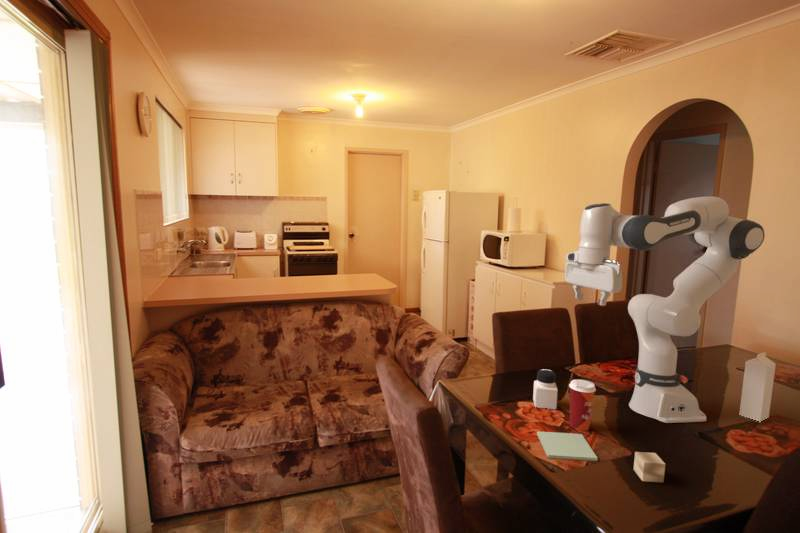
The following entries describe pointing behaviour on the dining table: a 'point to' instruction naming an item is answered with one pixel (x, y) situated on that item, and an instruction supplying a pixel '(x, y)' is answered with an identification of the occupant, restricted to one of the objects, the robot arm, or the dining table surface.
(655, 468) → the cube
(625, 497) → the dining table surface
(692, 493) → the dining table surface
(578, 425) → the paper cup
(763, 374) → the milk
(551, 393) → the medicine bottle
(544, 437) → the board
